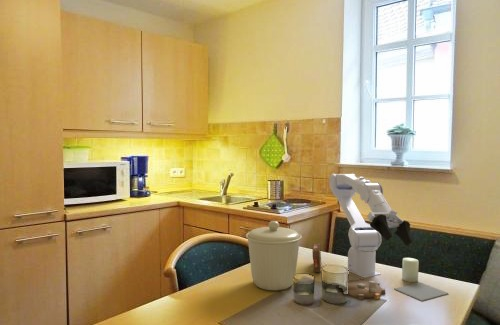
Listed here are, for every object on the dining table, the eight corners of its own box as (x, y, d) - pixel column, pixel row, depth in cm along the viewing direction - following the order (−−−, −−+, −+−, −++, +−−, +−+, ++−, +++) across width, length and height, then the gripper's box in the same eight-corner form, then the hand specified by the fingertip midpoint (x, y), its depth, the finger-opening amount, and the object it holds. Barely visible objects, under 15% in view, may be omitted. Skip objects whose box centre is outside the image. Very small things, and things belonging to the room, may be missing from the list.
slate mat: (394, 290, 118) (394, 288, 118) (420, 284, 123) (420, 282, 123) (421, 302, 109) (421, 300, 109) (448, 295, 114) (448, 293, 114)
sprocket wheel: (329, 286, 120) (329, 273, 119) (362, 279, 126) (362, 267, 126) (360, 303, 107) (361, 288, 107) (395, 294, 114) (395, 281, 113)
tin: (320, 275, 131) (321, 252, 130) (311, 275, 131) (312, 251, 131) (321, 262, 145) (321, 241, 145) (313, 262, 146) (313, 240, 146)
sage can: (398, 279, 128) (399, 258, 127) (408, 276, 130) (409, 257, 130) (411, 283, 123) (411, 263, 123) (421, 281, 126) (421, 261, 125)
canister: (236, 290, 117) (236, 224, 116) (257, 272, 133) (257, 214, 132) (292, 300, 110) (293, 229, 109) (306, 279, 127) (307, 218, 126)
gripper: (370, 195, 117) (388, 226, 106) (405, 206, 121) (426, 237, 110) (357, 211, 120) (374, 242, 109) (392, 221, 125) (411, 252, 114)
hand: (399, 240), depth 110 cm, fingers open, 7 cm apart
